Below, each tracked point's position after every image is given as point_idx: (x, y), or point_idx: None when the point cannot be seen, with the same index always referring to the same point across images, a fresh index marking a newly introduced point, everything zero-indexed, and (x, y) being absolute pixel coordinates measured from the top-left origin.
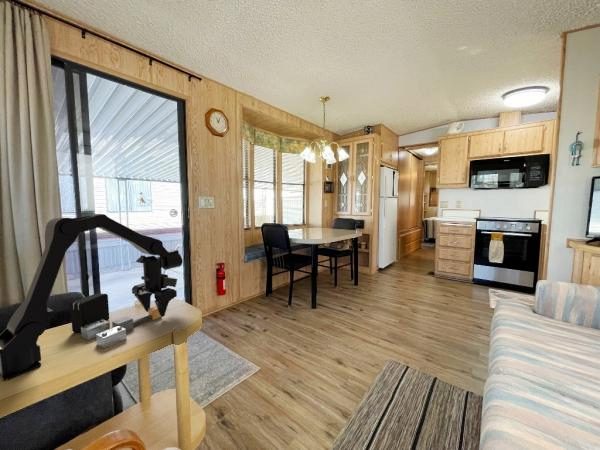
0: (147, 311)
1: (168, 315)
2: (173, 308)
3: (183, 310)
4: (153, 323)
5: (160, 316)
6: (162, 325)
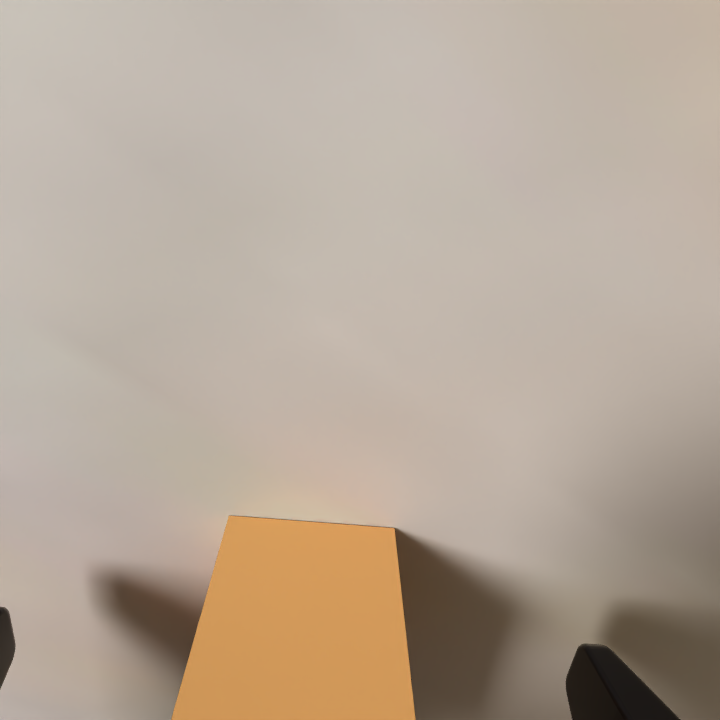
0: (10, 648)
1: (505, 441)
2: (238, 50)
3: (692, 50)
4: (501, 712)
5: (391, 545)
6: (707, 704)
